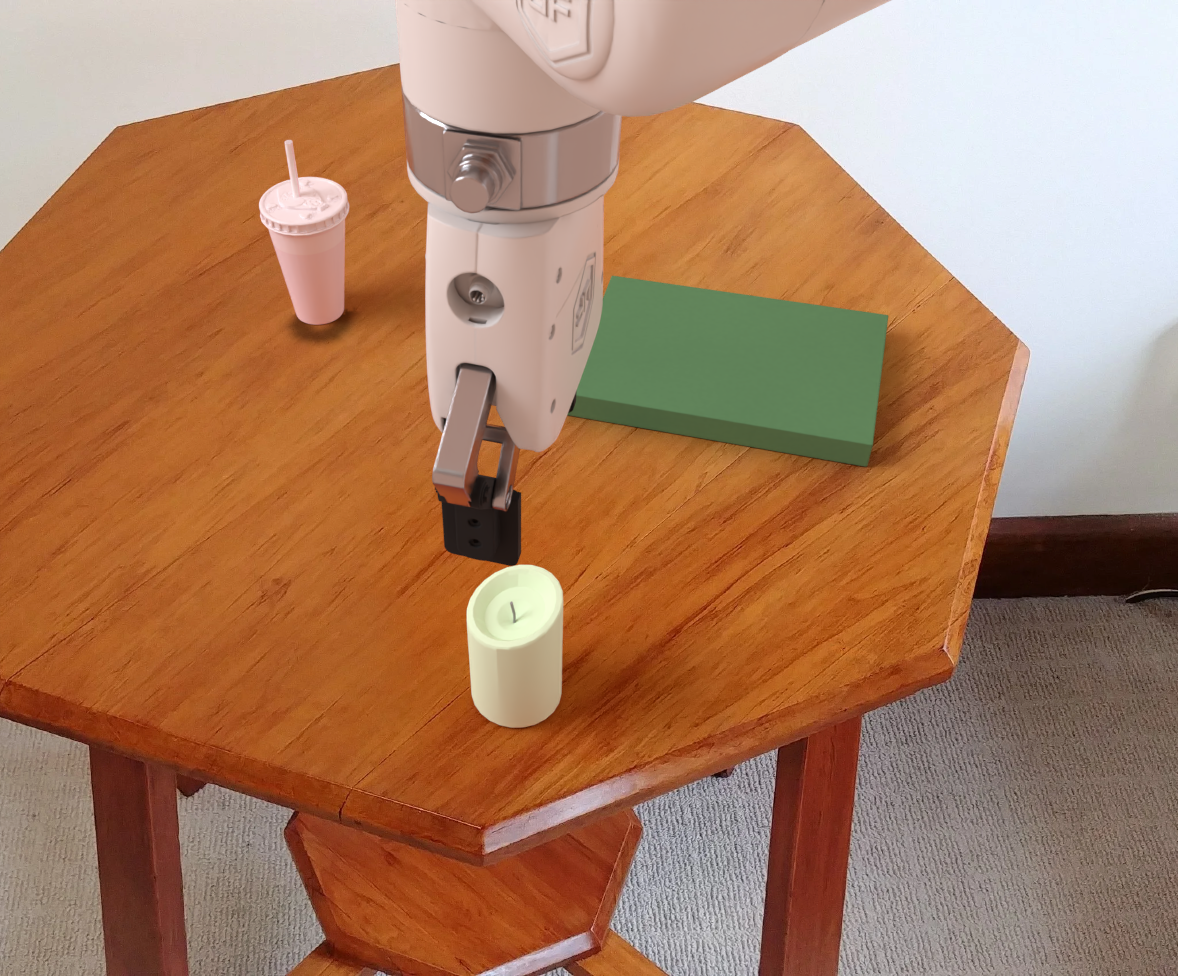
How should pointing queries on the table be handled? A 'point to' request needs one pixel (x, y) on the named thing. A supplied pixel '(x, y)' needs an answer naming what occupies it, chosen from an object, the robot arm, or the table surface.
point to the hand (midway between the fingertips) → (513, 475)
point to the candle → (516, 645)
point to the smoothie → (309, 241)
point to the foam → (736, 369)
